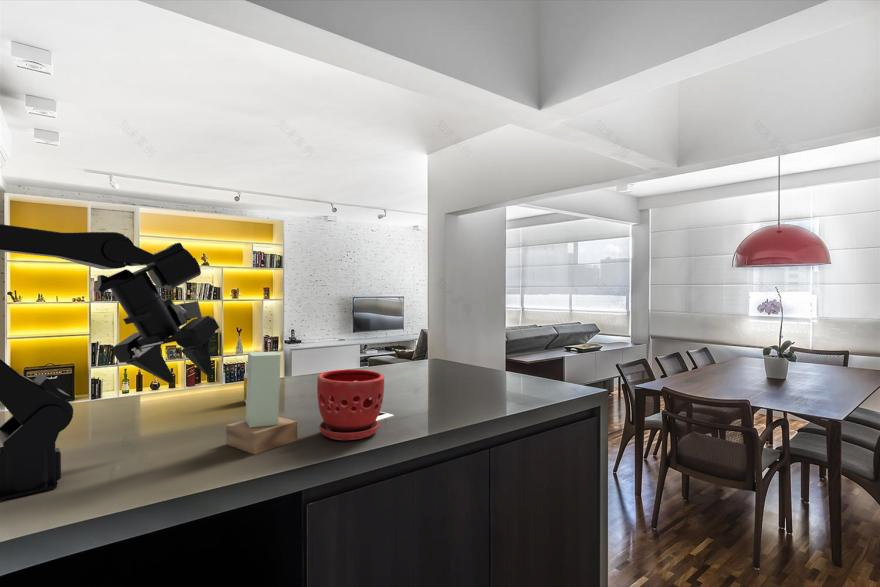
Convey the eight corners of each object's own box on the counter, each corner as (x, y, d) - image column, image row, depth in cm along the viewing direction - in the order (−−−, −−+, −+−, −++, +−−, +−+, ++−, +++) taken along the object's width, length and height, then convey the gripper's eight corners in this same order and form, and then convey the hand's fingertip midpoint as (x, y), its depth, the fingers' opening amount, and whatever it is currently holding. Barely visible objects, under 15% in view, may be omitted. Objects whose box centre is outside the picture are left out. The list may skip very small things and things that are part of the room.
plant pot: (322, 448, 83) (321, 382, 83) (313, 428, 95) (313, 370, 95) (392, 439, 88) (391, 377, 88) (375, 421, 100) (375, 366, 100)
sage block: (249, 427, 83) (251, 355, 83) (245, 420, 87) (247, 352, 88) (278, 424, 86) (280, 354, 86) (273, 418, 90) (275, 351, 90)
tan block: (254, 456, 80) (254, 433, 80) (226, 446, 85) (226, 424, 85) (297, 442, 88) (297, 421, 88) (268, 433, 93) (268, 414, 93)
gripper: (216, 272, 82) (256, 345, 88) (139, 293, 87) (182, 360, 93) (171, 301, 72) (220, 381, 78) (89, 322, 78) (140, 395, 84)
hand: (190, 378), depth 83 cm, fingers open, 9 cm apart
